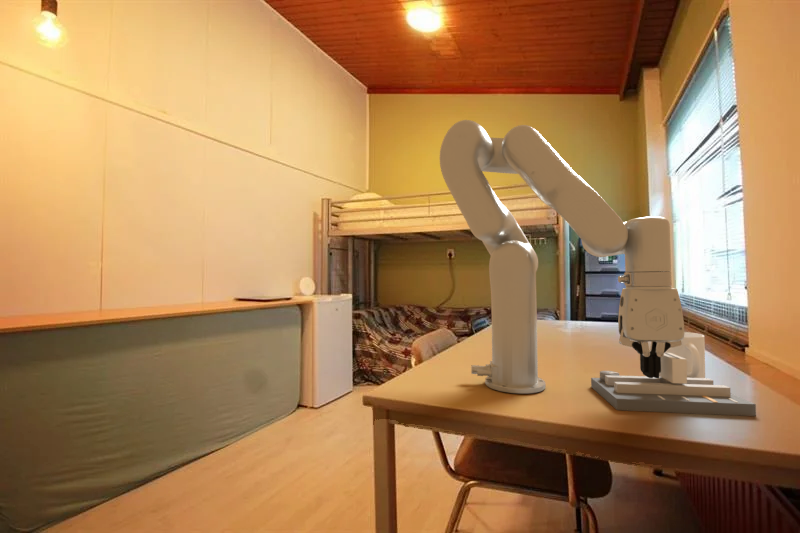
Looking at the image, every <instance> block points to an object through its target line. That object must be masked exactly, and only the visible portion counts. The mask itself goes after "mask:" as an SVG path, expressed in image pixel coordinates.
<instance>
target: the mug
mask: <svg viewBox="0 0 800 533" xmlns="http://www.w3.org/2000/svg"><path fill="white" fill-rule="evenodd" d="M681 342H682V345H681V346H677V347H672V348H669V349H668V350H667V351H666V352H665V353H672V354H675V355H677V356H680V357H682V358H685V359H687V378H706V353H705V352H706V351H705V350H706V348H705V347H706V346H705V344H706V343H705V335H704V334H701V333H697V332H689V331H688V332H687V331H684V338H683V339H682V340H681Z"/></svg>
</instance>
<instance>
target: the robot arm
mask: <svg viewBox="0 0 800 533" xmlns="http://www.w3.org/2000/svg"><path fill="white" fill-rule="evenodd" d="M439 166H440V171H441V176H442V177H443V180H444V182H445V184H446V187H447V188H448V190H449V193H450V194H451V196H452V198H453V199H454V202H455V203H456V206H457V207H458V209H459V210H460V213H461V214H462V216H463V218H464V220H465V222H466V223H467V226H468V227H469V230H470V231H471V233H472V234H473V236H474V237H475V238H476V239H478V240H479V241H482V244H483V245H484V247H485V249H486V250H487V252H488V254H489V255H490V258H489V263H488V270H489V271H488V274H489V286H490V299H491V300H490V304H491V306H490V308H491V353H492V354H491V359H492V360H489V364H485V365H479V364H478V365H476V364H472V365H471V367H470V368H471V375H476V376H477V377H483V376H485V379H484V383H485V385H486V386H487V387H488V388H490V389H492V390H494V391H495V390H496V391H498V392H503V393H509V394H523V395H524V394H525V395H526V394H536V393H540V392H543V391H544V390H545V389H546V381H545V380H544V379H542V378H540V377H539V374H538V373H539V372H538V371H539V369H538V368H539V367H538V365H539V364H538V361H539V360H538V314H537V311H538V308H537V307H538V306H537V304H538V303H537V272H538V269H539V257H538V254H537V253H536V251H535V250H534V249H535V248H534V247H532V244H531V243H530V241H529V240H528V237H526V234H525V233H524V232H523V230H522V228H521V226H520V225H519V224H518V221H517V220H516V218H515V216H514V215H513V213H512V212H511V211H510V210H509V209H508V208H507V206H506V205H505V204H503V203H502V201H501V200H500V199H499V197H498V196H497V195H496V193H495V191H494V190H493V188H492V187H491V185H490V183H489V180H488V179H487V178H486V176H485V174H484V173H483V172H485V173H486V172H488V173H497V174H499V173H500V174H514V175H516V174H517V175H519V177H521V179H522V180H523V181H524V182H525V184H527V186H528V187H529V188H530V190H531V191H532V192H533V194H535V195H536V197H537V198H539V200H540V201H541V202H542V203H543V204H545V205H546V206H548V207H550V208H552V209H553V210H554V211H555V212H556V213H557V214H558V215H560V217H561V218H563V220H564V221H565V222H566V223H567V224H568V226H569V227H570V228H571V229H572V230H573V232H575V234H576V235H577V236H578V237H579V238H580V240H581V245H582V247H583V249H584V250H585V251H586V252H587V253H588V254H589V255H592V256H594V257H597V258H606V257H612V256H618V255H624V267H625V268H624V269H625V272H624V273H623V275H618V277H617V282H618V283H622V284H624V286H625V288H622V289H621V293H620V299H619V305H618V306H619V308H618V319H617V320H618V322H617V323H618V333H619V338H618V339H619V340H618V343H619V344H620V345H622V346H626V347H630V348H632V349H634V350H635V351H636V352H637V354H639V364H640V365H639V366H640V368H639V369H640V371H641V373H642V375H643V376H647V377H649V378H653V377H654V378H659V377H660V376H659V373H660V372H661V357H662V356H663V355H664V353H665V352H666V351H667V350H668V349H669V348H672V347H677V346H681V345H682V342H681V340H682V339H683V338H684V332H685V321H684V315H683V308H682V303H681V297H680V295H679V291H678V289H677V288H676V287H675V288H674V287H672V286H673V285H672V258H671V252H672V251H671V226H670V221H669V220H668V219H667V218H666V217H663V216H643V217H636V218H632V219H629V220H627V221H623V220H622V218H621V217H620V216H619V215H618V214H617V212H616V211H615V210H614V209H613V208H612V207H611V206H610V204H608V203H607V202H606V200H605V199H604V198H603V197H602V196H601V195H600V194H599V193H598V192H597V191H596V190H595V189H594V188H593V187H592V186H590V184H588V183H587V182H586V181H585V180H584V179H583V178H582V177H581V176H580V175H579V174H577V172H576V171H575V170H574V169H572V167H570V165H569V164H568V163H567V162H566V161H565V160H564V159H563V158H562V157H561V156H560V154H559V153H558V152H557V151H556V150H555V149H554V148H553V147H552V145H551V144H550V143H549V142H548V141H547V140H546V139H545V138H544V137H543V136H542V134H541V133H540V132H539V131H538V130H536V129H535V128H534V127H532V126H531V125H527V124H520V125H517V126H514V127H513V128H511V129H510V130H508V132H507V133H506V134H505V135H504V137H490V136H489V134H488V133H487V131H486V130H485V128H484V127H483V126H482V125H481V124H479V123H478V122H476V121H473V120H470V119H462V120H460V121H457V122H456V123H455V122H454V124H453V125H451V127H450V128H449V129H448V131H447V132H446V134H445V135H444V138H443V140H442V143H441V147H440V150H439ZM649 342H650V347H649Z"/></svg>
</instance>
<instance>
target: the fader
mask: <svg viewBox="0 0 800 533" xmlns="http://www.w3.org/2000/svg"><path fill="white" fill-rule="evenodd" d="M659 377H660V383H669V384H687V359H685V358H682V357H680V356H677V355H675V354H672V353H664V355H663V356H662V357H661V372H660V373H659Z"/></svg>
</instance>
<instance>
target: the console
mask: <svg viewBox="0 0 800 533" xmlns="http://www.w3.org/2000/svg"><path fill="white" fill-rule="evenodd" d="M590 382H591V384H590V388H592V389H593V390H594V391H595V392H596V393H597V394H598V395H599V396H601V398H603V399H604V400H605V401H606V402H607V403H608V404H610V405H611V406H612V407H613V408H614V409H615V410H616V411H628V412H629V411H630V412H631V411H632V412H633V411H634V412H650V413H652V412H653V413H654V412H655V413H656V412H657V413H676V414H677V413H679V414H680V413H681V414H683V413H684V414H699V415H700V414H701V415H721V416H722V415H725V416H747V417H748V416H750V417H756V416H757V405H756V403H754V402H752V401H749V400H747V399H745V398H743V397H741V396H739V395H736V394H734V393H732V392H731V387H729V386H728V385H724V384H721V385H720V384H714V380H713V379H712V378H710V377H705V378H687V384H669V383H660V376H659V378H654V377H653V378H649V377H647V376H645V375H643V376H642V375H641V376H640V375H620V373H619V372H616V371H612V370H601V371H599V377H591V378H590Z"/></svg>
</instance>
